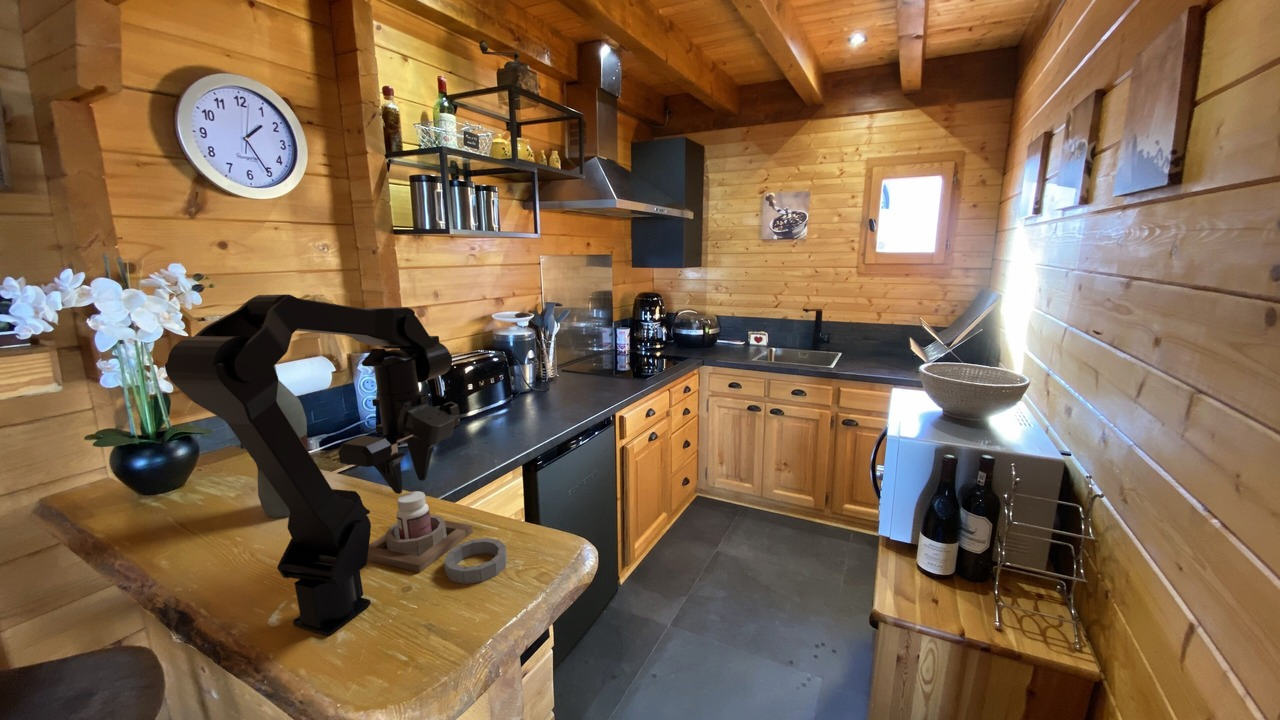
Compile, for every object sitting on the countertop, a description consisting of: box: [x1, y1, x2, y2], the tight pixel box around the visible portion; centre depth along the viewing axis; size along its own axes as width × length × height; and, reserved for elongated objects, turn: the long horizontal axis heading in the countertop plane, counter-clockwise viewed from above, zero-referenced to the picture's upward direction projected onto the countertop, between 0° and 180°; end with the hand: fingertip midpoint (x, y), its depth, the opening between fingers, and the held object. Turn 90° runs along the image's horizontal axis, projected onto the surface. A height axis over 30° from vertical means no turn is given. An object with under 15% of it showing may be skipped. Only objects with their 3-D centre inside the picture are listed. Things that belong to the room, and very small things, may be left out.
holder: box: [443, 537, 508, 585], centre depth 78 cm, size 8×8×2 cm
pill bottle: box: [396, 491, 432, 540], centre depth 84 cm, size 5×5×8 cm
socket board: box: [367, 513, 474, 573], centre depth 84 cm, size 12×12×3 cm
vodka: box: [255, 364, 309, 519], centre depth 96 cm, size 9×9×30 cm
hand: (410, 486), depth 83 cm, fingers open, 5 cm apart
